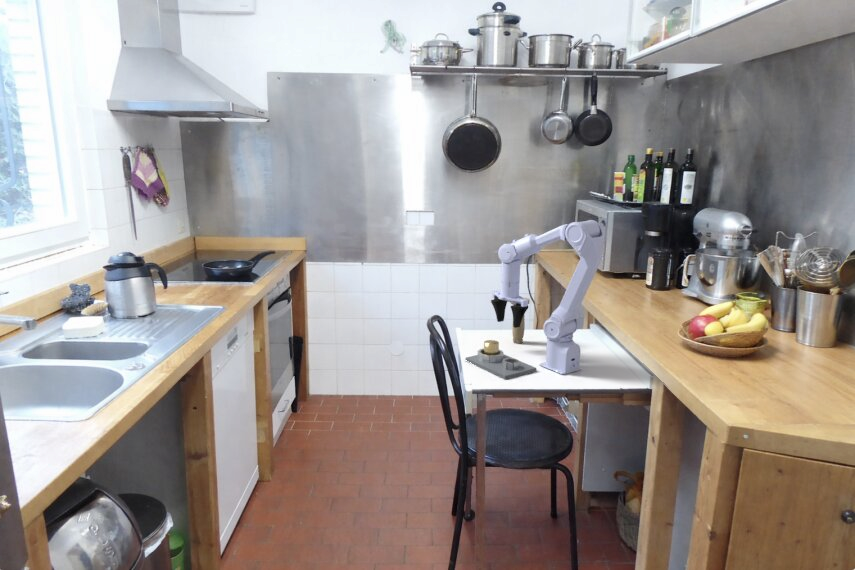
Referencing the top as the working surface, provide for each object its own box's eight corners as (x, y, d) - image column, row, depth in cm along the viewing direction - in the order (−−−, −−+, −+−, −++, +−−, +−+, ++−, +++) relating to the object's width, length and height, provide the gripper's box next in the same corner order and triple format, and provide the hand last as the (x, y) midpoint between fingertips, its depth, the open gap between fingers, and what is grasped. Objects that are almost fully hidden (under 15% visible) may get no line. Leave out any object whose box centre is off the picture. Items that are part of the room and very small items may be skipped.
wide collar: (508, 359, 171) (508, 353, 170) (488, 364, 167) (488, 357, 166) (491, 352, 177) (492, 346, 177) (472, 357, 173) (472, 350, 173)
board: (536, 371, 164) (536, 367, 164) (504, 379, 158) (504, 376, 158) (495, 353, 179) (495, 350, 179) (465, 360, 173) (465, 357, 172)
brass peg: (501, 358, 172) (501, 342, 171) (490, 361, 169) (490, 345, 168) (491, 354, 175) (491, 339, 174) (480, 357, 173) (481, 341, 172)
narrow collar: (521, 368, 164) (521, 361, 164) (509, 371, 162) (509, 364, 161) (510, 363, 168) (511, 356, 167) (499, 366, 165) (499, 359, 165)
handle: (528, 344, 188) (530, 300, 185) (509, 344, 188) (511, 300, 185) (526, 340, 193) (528, 297, 190) (507, 340, 193) (509, 297, 190)
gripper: (485, 279, 179) (483, 320, 182) (516, 287, 168) (514, 331, 170) (502, 276, 183) (500, 317, 186) (533, 285, 171) (531, 328, 174)
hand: (508, 324), depth 178 cm, fingers open, 7 cm apart
